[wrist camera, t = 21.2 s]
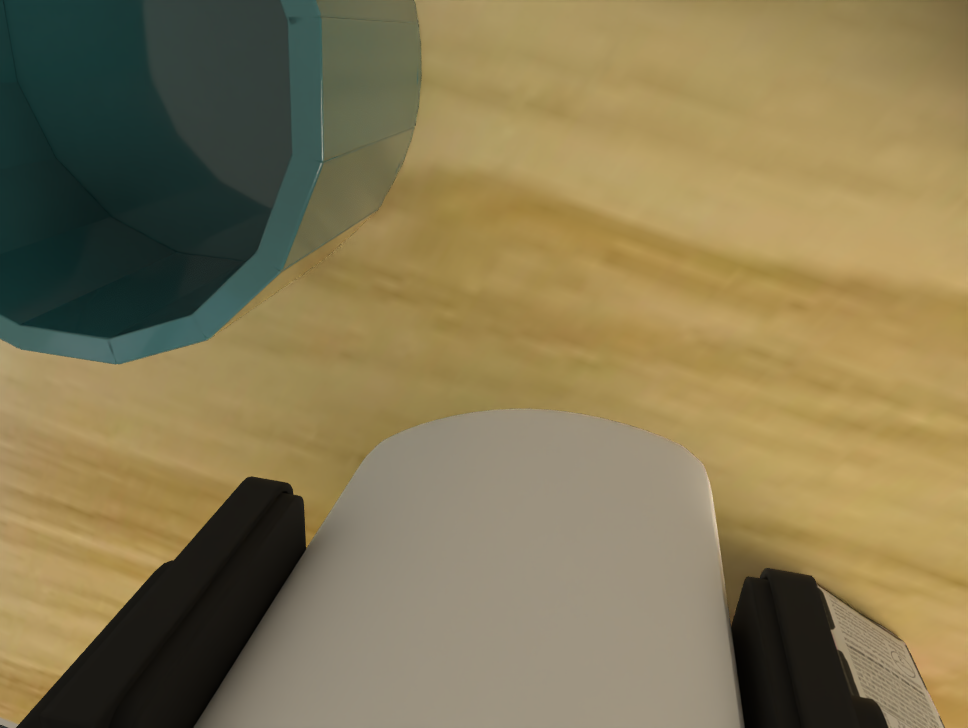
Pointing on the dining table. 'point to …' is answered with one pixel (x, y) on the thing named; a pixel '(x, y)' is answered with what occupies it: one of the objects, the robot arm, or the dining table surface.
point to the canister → (187, 159)
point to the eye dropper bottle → (502, 589)
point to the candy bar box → (879, 667)
